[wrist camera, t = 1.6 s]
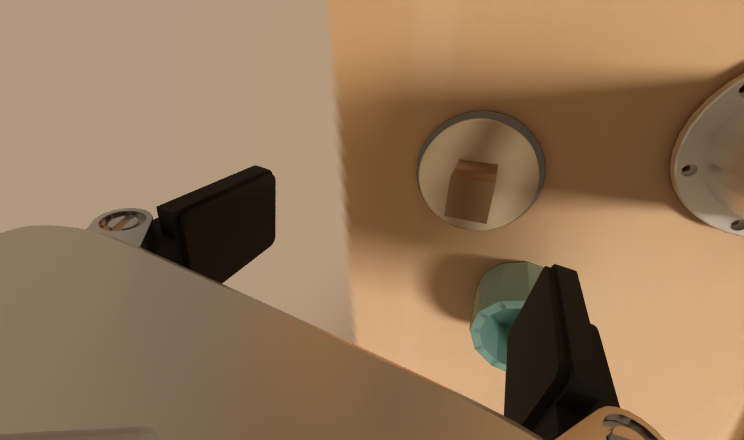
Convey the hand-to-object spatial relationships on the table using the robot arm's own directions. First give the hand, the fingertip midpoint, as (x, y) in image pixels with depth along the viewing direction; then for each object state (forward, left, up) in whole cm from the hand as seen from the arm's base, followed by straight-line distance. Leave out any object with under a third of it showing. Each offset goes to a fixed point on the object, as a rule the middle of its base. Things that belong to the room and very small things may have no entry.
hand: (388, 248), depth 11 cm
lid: (-4, +2, -21) cm, 21 cm away
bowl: (-17, +8, -21) cm, 28 cm away
